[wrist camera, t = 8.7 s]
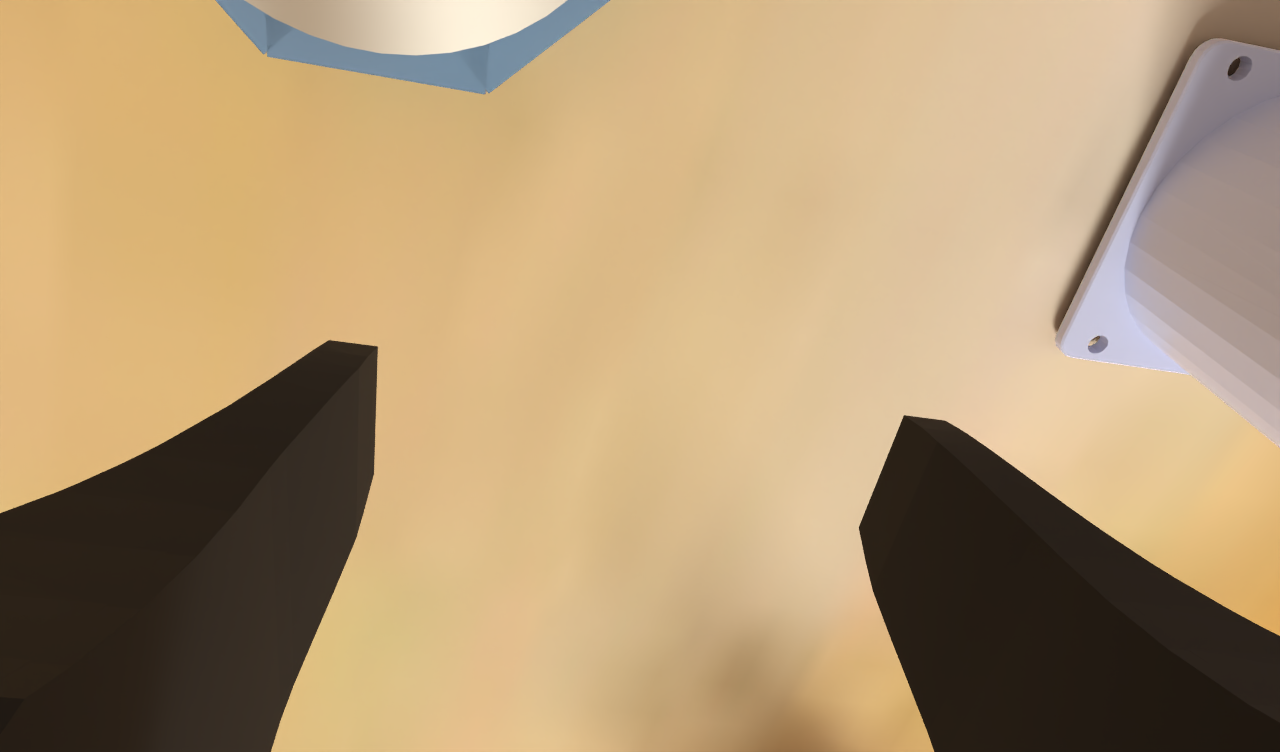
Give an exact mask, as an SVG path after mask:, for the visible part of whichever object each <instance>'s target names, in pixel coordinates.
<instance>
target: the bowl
mask: <svg viewBox="0 0 1280 752" xmlns="http://www.w3.org/2000/svg"><path fill="white" fill-rule="evenodd" d="M216 1H217V3H218V4H219V5H220V6H221V7H222V8H223V9H224V10H225V12H226V13H227V14H228V15H229V16H230V17H231V18H232V20H233V21H234V22H235V23H236V24H237V25H238V26H239V27H240V29H241V30H242V31H243V32H244V33H245V34H246V35H247V36H248V38H249V39H250V40H251V41H252V42H253V43H254V44H255V45H256V47H257V48H258V49H259V50H260V51H261V52H262V53H263V54H265V53H267V57H273V58H278V59H284V60H290V61H296V62H301V63H307V64H313V65H319V66H325V67H330V68H336V69H342V70H348V71H353V72H359V73H365V74H371V75H376V76H382V77H388V78H394V79H399V80H405V81H411V82H417V83H423V84H428V85H434V86H440V87H446V88H451V89H457V90H463V91H469V92H474V93H480V94H486V91H487V92H488V93H490V92H491V91H493V90H494V89H495V88H497V87H498V86H499V85H501V84H502V83H503V82H504V81H506V80H507V79H508V78H510V77H511V76H512V75H514V74H515V73H516V72H517V71H519V70H520V69H521V68H523V67H524V66H525V65H527V64H528V63H529V62H531V61H532V60H533V59H534V58H536V57H537V56H538V55H540V54H541V53H542V52H544V51H545V50H546V49H547V48H549V47H550V46H551V45H553V44H554V43H555V42H557V41H558V40H559V39H560V38H562V37H563V36H564V35H566V34H567V33H568V32H570V31H571V30H572V29H574V28H575V27H576V26H577V25H579V24H580V23H581V22H583V21H584V20H585V19H587V18H588V17H589V16H590V15H592V14H593V13H594V12H596V11H597V10H598V9H600V8H601V7H602V6H603V5H605V4H606V3H607V2H609V1H610V0H567V1H566V2H565V3H563V4H562V5H561V6H559V7H558V8H557V9H555V10H554V11H553V12H551V13H550V14H549V15H547V16H546V17H544V18H542V19H540V20H539V21H537V22H535V23H533V24H531V25H530V26H528V27H526V28H524V29H522V30H521V31H519V32H517V33H515V34H512V35H510V36H507V37H504V38H502V39H499V40H496V41H494V42H491V43H489V44H486V45H483V46H478V47H474V48H469V49H465V50H460V51H456V52H451V53H440V54H428V55H400V54H382V53H376V52H371V51H366V50H361V49H355V48H350V47H345V46H342V45H339V44H336V43H333V42H330V41H327V40H324V39H320V38H317V37H314V36H311V35H309V34H306V33H304V32H302V31H300V30H298V29H296V28H293V27H291V26H289V25H287V24H285V23H283V22H281V21H278V20H276V19H274V18H272V17H271V16H269V15H268V14H266V13H264V12H263V11H261V10H259V9H258V8H256V7H254V6H253V5H251V4H249V3H248V2H246V1H245V0H216Z"/></svg>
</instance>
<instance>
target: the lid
mask: <svg viewBox="0 0 1280 752" xmlns="http://www.w3.org/2000/svg"><path fill="white" fill-rule="evenodd" d="M245 1H246V2H248V3H249V4H251V5H253V6H254V7H256V8H258V9H259V10H261V11H263V12H264V13H266V14H268V15H269V16H271V17H272V18H274V19H276V20H278V21H281V22H283V23H285V24H287V25H289V26H291V27H293V28H296V29H298V30H300V31H302V32H304V33H306V34H309V35H311V36H314V37H317V38H320V39H324V40H327V41H330V42H333V43H336V44H339V45H342V46H345V47H350V48H355V49H361V50H366V51H371V52H376V53H382V54H400V55H428V54H440V53H451V52H456V51H460V50H465V49H469V48H474V47H478V46H483V45H486V44H489V43H491V42H494V41H496V40H499V39H502V38H504V37H507V36H510V35H512V34H515V33H517V32H519V31H521V30H522V29H524V28H526V27H528V26H530V25H531V24H533V23H535V22H537V21H539V20H540V19H542V18H544V17H546V16H547V15H549V14H550V13H551V12H553V11H554V10H555V9H557V8H558V7H559V6H561V5H562V4H563V3H565V2H566V1H567V0H245Z"/></svg>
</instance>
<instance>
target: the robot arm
mask: <svg viewBox="0 0 1280 752" xmlns="http://www.w3.org/2000/svg"><path fill="white" fill-rule="evenodd" d="M1237 58H1240V64H1239V68H1238V69H1237V70H1236V72H1235V73H1234V74H1232V75H1230V76H1229V77H1228V74H1227V73H1228V69H1229V66H1230V65H1231V63H1232V62H1233V61H1234V60H1235V59H1237ZM1097 336H1100V339H1099V340H1098V341H1097V342H1096V343H1095V344H1093V345H1091V346H1088V344H1089V342H1090V341H1091V340H1092V339H1093V338H1095V337H1097ZM1055 342H1056V346H1057V347H1058V348H1059V349H1060V350H1061V351H1062V352H1063V353H1064V354H1065V355H1066V356H1068V357H1071V358H1078V359H1084V360H1091V361H1098V362H1105V363H1112V364H1119V365H1126V366H1133V367H1140V368H1147V369H1154V370H1160V371H1167V372H1174V373H1181V374H1188V375H1191V376H1193V377H1194V378H1195V379H1196V380H1198V381H1199V382H1200V383H1201V384H1202V385H1204V386H1205V387H1206V388H1207V389H1208V390H1210V391H1211V392H1212V393H1213V394H1215V395H1216V396H1217V397H1218V398H1219V399H1221V400H1222V401H1223V402H1224V403H1226V404H1227V405H1228V406H1229V407H1230V408H1232V409H1233V410H1234V411H1235V412H1237V413H1238V414H1239V415H1240V416H1241V417H1243V418H1244V419H1245V420H1246V421H1248V422H1249V423H1250V424H1251V425H1252V426H1254V427H1255V428H1256V429H1257V430H1258V431H1260V432H1261V433H1262V434H1263V435H1265V436H1266V437H1267V438H1268V439H1269V440H1271V441H1272V442H1273V443H1274V444H1276V445H1277V446H1278V447H1279V448H1280V50H1276V49H1271V48H1266V47H1262V46H1257V45H1252V44H1247V43H1242V42H1237V41H1233V40H1228V39H1223V38H1212V39H1210V40H1208V41H1205V42H1203V43H1202V44H1201V45H1200V46H1199V47H1197V48H1196V49H1195V51H1194V52H1193V54H1192V55H1191V56H1190V58H1189V60H1188V62H1187V64H1186V66H1185V68H1184V71H1183V73H1182V75H1181V77H1180V79H1179V81H1178V83H1177V85H1176V87H1175V89H1174V91H1173V93H1172V95H1171V97H1170V100H1169V102H1168V104H1167V106H1166V108H1165V110H1164V112H1163V114H1162V116H1161V118H1160V120H1159V122H1158V124H1157V126H1156V129H1155V131H1154V133H1153V135H1152V137H1151V139H1150V141H1149V143H1148V145H1147V147H1146V149H1145V151H1144V153H1143V155H1142V158H1141V160H1140V162H1139V164H1138V166H1137V168H1136V170H1135V172H1134V174H1133V176H1132V178H1131V180H1130V182H1129V184H1128V187H1127V189H1126V191H1125V193H1124V195H1123V197H1122V199H1121V201H1120V203H1119V205H1118V207H1117V209H1116V211H1115V213H1114V216H1113V218H1112V220H1111V222H1110V224H1109V226H1108V228H1107V230H1106V232H1105V234H1104V236H1103V238H1102V240H1101V242H1100V245H1099V247H1098V249H1097V251H1096V253H1095V255H1094V257H1093V259H1092V261H1091V263H1090V265H1089V267H1088V269H1087V271H1086V274H1085V276H1084V278H1083V280H1082V282H1081V284H1080V286H1079V288H1078V290H1077V292H1076V294H1075V296H1074V298H1073V300H1072V303H1071V305H1070V307H1069V309H1068V311H1067V313H1066V315H1065V317H1064V319H1063V321H1062V323H1061V325H1060V327H1059V329H1058V332H1057V334H1056V338H1055ZM377 354H378V347H377V346H369V345H361V344H354V343H346V342H338V341H331V340H329V341H327V342H325V343H324V344H322V345H320V346H319V347H317V348H316V349H314V350H313V351H311V352H310V353H308V354H307V355H305V356H304V357H302V358H301V359H299V360H298V361H296V362H295V363H294V364H292V365H291V366H289V367H288V368H286V369H285V370H283V371H282V372H280V373H279V374H277V375H276V376H274V377H273V378H271V379H270V380H268V381H266V382H265V383H263V384H262V385H260V386H259V387H257V388H256V389H254V390H252V391H251V392H249V393H248V394H246V395H245V396H243V397H242V398H240V399H238V400H237V401H235V402H234V403H232V404H231V405H229V406H227V407H226V408H224V409H222V410H220V411H219V412H217V413H215V414H213V415H212V416H210V417H208V418H206V419H205V420H203V421H201V422H199V423H198V424H196V425H194V426H192V427H190V428H189V429H187V430H185V431H183V432H182V433H180V434H178V435H176V436H175V437H173V438H171V439H169V440H168V441H166V442H164V443H162V444H160V445H158V446H156V447H155V448H153V449H151V450H149V451H147V452H145V453H143V454H141V455H139V456H137V457H135V458H133V459H130V460H128V461H126V462H124V463H122V464H120V465H118V466H116V467H114V468H111V469H109V470H107V471H105V472H102V473H100V474H98V475H96V476H93V477H91V478H89V479H87V480H85V481H82V482H80V483H78V484H76V485H73V486H71V487H68V488H66V489H64V490H61V491H59V492H56V493H54V494H51V495H48V496H45V497H43V498H40V499H37V500H35V501H32V502H29V503H27V504H24V505H21V506H19V507H16V508H13V509H11V510H8V511H5V512H3V513H0V752H271V749H272V746H273V743H274V740H275V736H276V733H277V730H278V727H279V723H280V720H281V717H282V715H283V712H284V709H285V707H286V704H287V701H288V699H289V696H290V693H291V691H292V688H293V686H294V683H295V681H296V678H297V676H298V674H299V671H300V669H301V667H302V664H303V662H304V660H305V657H306V655H307V653H308V650H309V648H310V646H311V643H312V641H313V639H314V636H315V634H316V632H317V629H318V627H319V625H320V622H321V620H322V618H323V615H324V613H325V611H326V608H327V606H328V604H329V601H330V599H331V597H332V594H333V592H334V590H335V587H336V585H337V583H338V580H339V578H340V576H341V573H342V571H343V568H344V566H345V564H346V561H347V559H348V557H349V554H350V552H351V549H352V547H353V545H354V542H355V540H356V537H357V533H358V530H359V526H360V523H361V519H362V516H363V512H364V509H365V505H366V501H367V498H368V494H369V490H370V486H371V483H372V479H373V475H374V452H375V419H376V387H377ZM859 531H860V535H861V540H862V545H863V550H864V555H865V560H866V564H867V568H868V573H869V577H870V581H871V585H872V589H873V592H874V595H875V597H876V600H877V603H878V606H879V608H880V611H881V614H882V616H883V619H884V622H885V624H886V627H887V630H888V632H889V635H890V637H891V640H892V643H893V645H894V648H895V650H896V653H897V655H898V658H899V660H900V663H901V665H902V668H903V671H904V673H905V676H906V678H907V681H908V683H909V686H910V688H911V691H912V693H913V696H914V699H915V701H916V704H917V706H918V709H919V711H920V714H921V716H922V719H923V722H924V724H925V727H926V729H927V732H928V735H929V737H930V740H931V743H932V746H933V749H934V752H1280V636H1279V635H1277V634H1275V633H1273V632H1271V631H1269V630H1267V629H1265V628H1263V627H1261V626H1259V625H1257V624H1255V623H1253V622H1251V621H1250V620H1248V619H1246V618H1244V617H1242V616H1240V615H1238V614H1237V613H1235V612H1233V611H1231V610H1229V609H1227V608H1226V607H1224V606H1222V605H1221V604H1219V603H1217V602H1215V601H1214V600H1212V599H1210V598H1209V597H1207V596H1205V595H1203V594H1202V593H1200V592H1198V591H1197V590H1195V589H1193V588H1191V587H1190V586H1188V585H1186V584H1185V583H1183V582H1181V581H1179V580H1178V579H1176V578H1174V577H1173V576H1171V575H1169V574H1168V573H1166V572H1165V571H1163V570H1161V569H1160V568H1158V567H1156V566H1155V565H1153V564H1152V563H1150V562H1149V561H1147V560H1145V559H1144V558H1142V557H1141V556H1139V555H1138V554H1136V553H1135V552H1133V551H1132V550H1130V549H1129V548H1127V547H1126V546H1124V545H1123V544H1121V543H1120V542H1118V541H1117V540H1115V539H1114V538H1112V537H1111V536H1109V535H1108V534H1106V533H1105V532H1103V531H1102V530H1100V529H1099V528H1098V527H1096V526H1095V525H1093V524H1092V523H1090V522H1089V521H1088V520H1086V519H1085V518H1083V517H1082V516H1080V515H1079V514H1078V513H1076V512H1075V511H1073V510H1072V509H1071V508H1069V507H1068V506H1066V505H1065V504H1064V503H1062V502H1061V501H1060V500H1058V499H1057V498H1055V497H1054V496H1053V495H1051V494H1050V493H1049V492H1047V491H1046V490H1044V489H1043V488H1042V487H1040V486H1039V485H1038V484H1036V483H1035V482H1034V481H1032V480H1031V479H1029V478H1028V477H1027V476H1025V475H1024V474H1023V473H1021V472H1020V471H1019V470H1017V469H1016V468H1015V467H1013V466H1012V465H1010V464H1009V463H1008V462H1006V461H1005V460H1004V459H1002V458H1001V457H1000V456H998V455H997V454H995V453H994V452H993V451H991V450H990V449H988V448H987V447H986V446H984V445H983V444H981V443H980V442H978V441H977V440H976V439H974V438H973V437H971V436H970V435H968V434H967V433H965V432H963V431H962V430H960V429H959V428H957V427H955V426H953V425H952V424H950V423H948V422H946V421H943V420H936V419H928V418H920V417H913V416H905V415H904V417H903V419H902V422H901V424H900V427H899V429H898V432H897V434H896V437H895V439H894V442H893V444H892V447H891V449H890V451H889V454H888V456H887V459H886V461H885V464H884V466H883V469H882V471H881V474H880V476H879V479H878V481H877V484H876V486H875V489H874V491H873V494H872V496H871V499H870V501H869V504H868V506H867V509H866V511H865V514H864V516H863V518H862V521H861V523H860V526H859Z"/></svg>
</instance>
